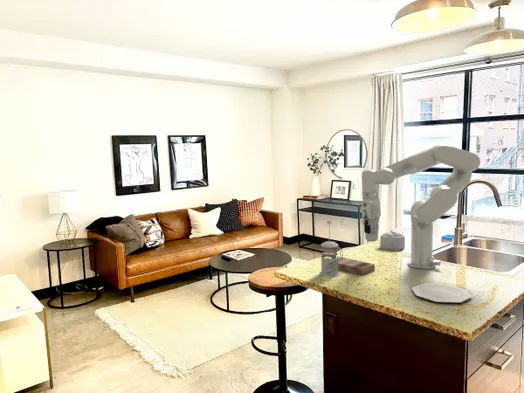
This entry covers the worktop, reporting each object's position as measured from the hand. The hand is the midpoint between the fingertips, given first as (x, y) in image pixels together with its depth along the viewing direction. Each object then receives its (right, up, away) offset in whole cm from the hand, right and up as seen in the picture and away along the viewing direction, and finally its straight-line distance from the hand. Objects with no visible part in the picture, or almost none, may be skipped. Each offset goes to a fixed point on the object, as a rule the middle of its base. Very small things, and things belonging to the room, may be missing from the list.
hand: (371, 231), depth 189 cm
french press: (-21, -19, -10) cm, 30 cm away
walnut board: (-11, -18, -4) cm, 21 cm away
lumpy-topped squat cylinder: (+22, -13, +34) cm, 42 cm away
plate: (+15, -21, -40) cm, 48 cm away
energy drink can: (0, -5, 0) cm, 5 cm away
